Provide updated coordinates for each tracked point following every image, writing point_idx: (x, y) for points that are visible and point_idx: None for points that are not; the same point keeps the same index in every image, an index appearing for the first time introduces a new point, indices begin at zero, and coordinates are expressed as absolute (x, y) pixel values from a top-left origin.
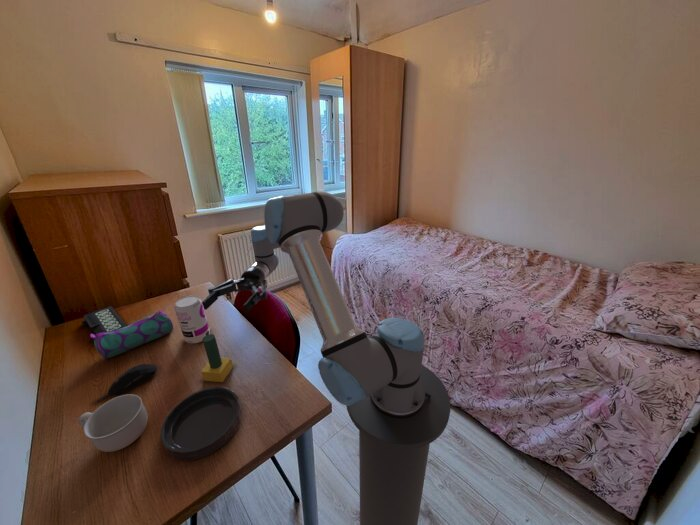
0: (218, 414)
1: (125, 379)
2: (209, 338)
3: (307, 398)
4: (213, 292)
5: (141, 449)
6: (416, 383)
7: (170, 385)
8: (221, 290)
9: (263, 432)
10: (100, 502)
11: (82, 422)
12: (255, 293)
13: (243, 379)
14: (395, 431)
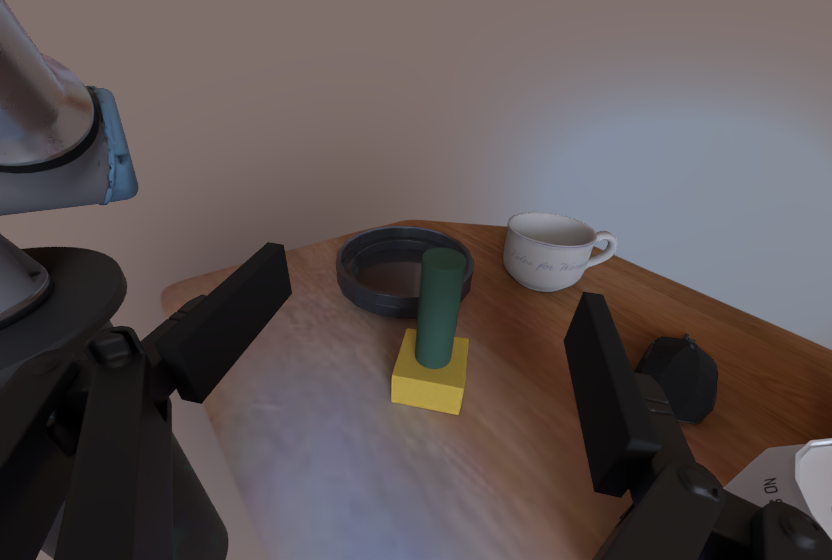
0: (384, 284)
1: (673, 342)
2: (439, 255)
3: (190, 299)
4: (648, 423)
5: (491, 263)
6: None
7: (549, 359)
8: (617, 530)
9: (296, 263)
10: (491, 232)
11: (607, 245)
12: (147, 384)
13: (347, 357)
14: (67, 259)
